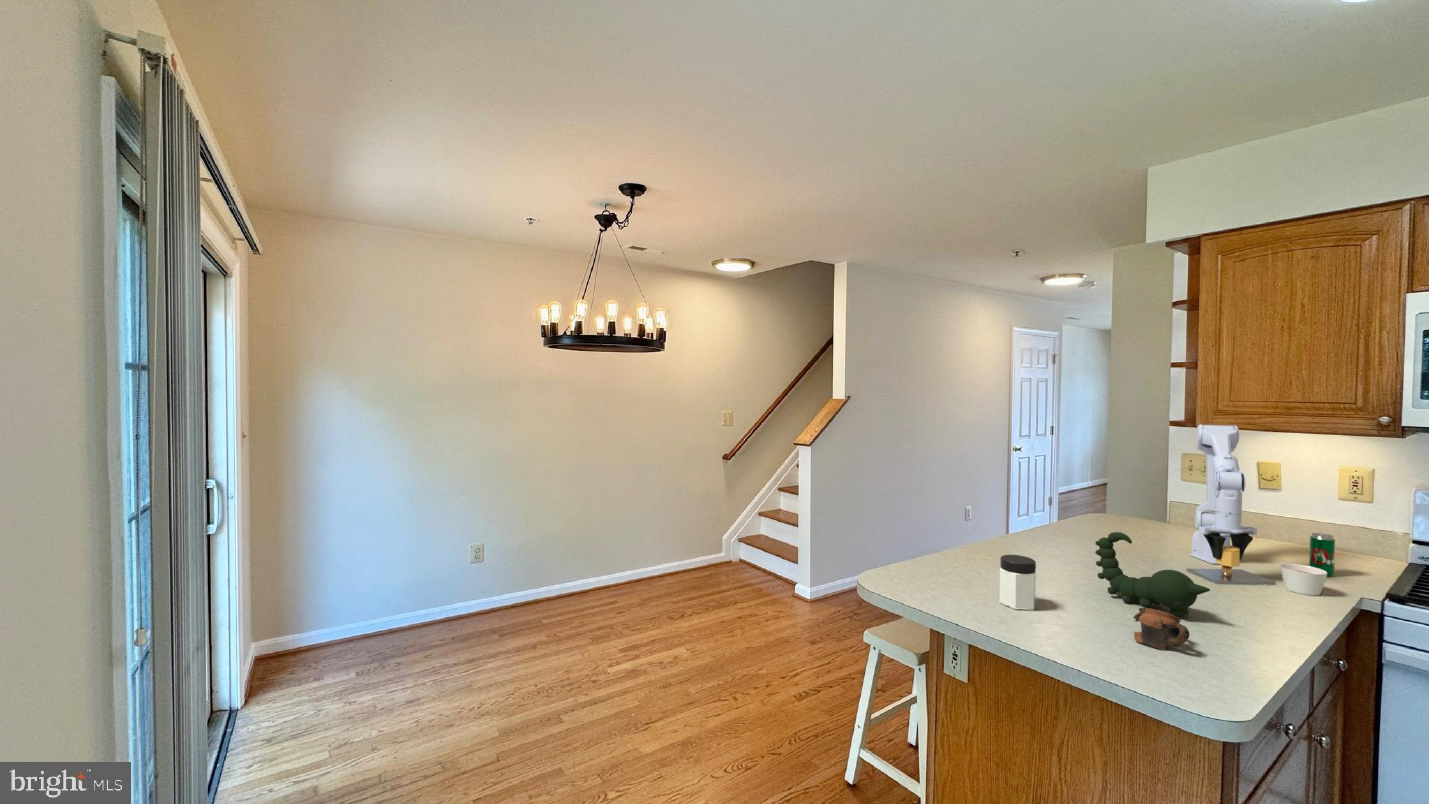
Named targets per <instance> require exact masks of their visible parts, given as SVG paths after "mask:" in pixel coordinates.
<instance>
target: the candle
mask: <svg viewBox="0 0 1429 804" xmlns="http://www.w3.org/2000/svg"><path fill="white" fill-rule="evenodd" d="M1279 568H1280V572H1281V577H1282V581H1283V586H1284V588H1285V589H1286V590H1287V591H1289V592H1292V591H1293V592H1292V593H1295V592H1296V594H1300V595H1304V594H1305V596H1314V597H1315V596H1320V595H1321V594H1322V592H1323V588H1324V585H1325V582H1326V579H1327V577H1326V576H1327V572H1326V571H1324V570H1322V569H1319V568H1315V567H1310V566H1309V565H1306V564H1305V565H1304V564H1299V563H1298V564H1296V563H1281V564H1279Z"/></svg>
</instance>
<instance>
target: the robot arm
mask: <svg viewBox="0 0 1429 804" xmlns="http://www.w3.org/2000/svg"><path fill="white" fill-rule="evenodd" d="M1239 429H1240V428H1239V427H1238V426H1237V425H1236V424H1235V425H1234V424H1233V425H1218V424H1214V425H1213V424H1201V423H1200V424H1198V425H1197V427H1196V447H1197V450H1199V451H1201V452H1203V454H1204V456H1205V461H1206V463H1205V464H1206V465H1205V468H1206V470H1205V471H1206V472H1205V473H1206V479H1205V480H1206V482H1205V483H1206V501H1205V502H1203V503H1201V504H1199V505H1198V506H1196V508H1195V515H1194V527H1195V529H1196V531H1194V532H1193V534H1192V540H1191V542H1192V543H1191V553H1189V554H1188V555H1190V556H1191V557H1194V558H1197V559H1199V560H1202V561H1204V562H1207V563H1209V564H1212V565H1213V564H1214V565H1219V564H1218V563H1216V559H1221V558H1222V549H1223V545H1231V546H1235V547H1238V548H1240V561H1241V560H1242V559H1243V556H1244V553H1245V551H1246V549H1247V547H1248V546H1249V545H1250V543H1251V542H1253V540H1254V537H1253V536H1257V535H1258V529H1257V528H1256V527H1254V526H1242V517H1243V516H1242V515H1243V514H1242V513H1243V493H1244V492H1245V489H1246V476H1245V472H1243V471H1242V470H1243V469H1242V470H1241V469H1240V466H1239V461H1238V458H1237V457H1236V456H1235V455H1233V454H1232V452H1234V451H1235V449H1237V446H1238V444H1239V442H1240V441H1239V440H1240V430H1239Z"/></svg>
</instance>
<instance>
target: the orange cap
mask: <svg viewBox="0 0 1429 804" xmlns="http://www.w3.org/2000/svg"><path fill="white" fill-rule="evenodd" d="M1240 561H1241V560H1240V548H1238V547H1235V546H1232V544H1230V545H1223V549H1222V558H1221V559H1216V563H1218V564H1217V565H1221V566H1222V565H1225V566H1231V567H1232V568H1234V567H1236V568H1239V567H1240V564H1241V563H1240Z"/></svg>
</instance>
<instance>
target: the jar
mask: <svg viewBox="0 0 1429 804" xmlns="http://www.w3.org/2000/svg"><path fill="white" fill-rule="evenodd" d="M999 561H1000V568H999V603H1000V602H1001V603H1004V604H1006V605H1009V606H1011V607H1013V608H1021V609H1023V608H1026V609H1034V610H1035V607H1034V606H1036V580H1037V579H1036V578H1037V577H1036V571H1037V570H1036V569H1037V564H1036V560H1035V559H1033V558H1031V557H1028V556H1024V555H1019V554H1004V555H1001V556H1000V559H999Z"/></svg>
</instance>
